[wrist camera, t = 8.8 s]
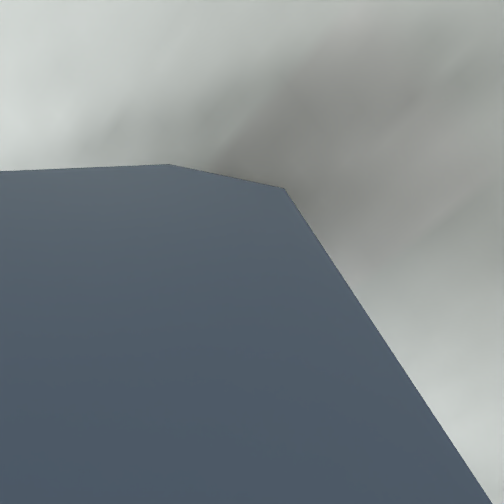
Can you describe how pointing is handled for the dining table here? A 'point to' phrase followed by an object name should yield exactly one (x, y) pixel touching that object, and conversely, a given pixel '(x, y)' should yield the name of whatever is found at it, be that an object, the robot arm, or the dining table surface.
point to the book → (195, 353)
